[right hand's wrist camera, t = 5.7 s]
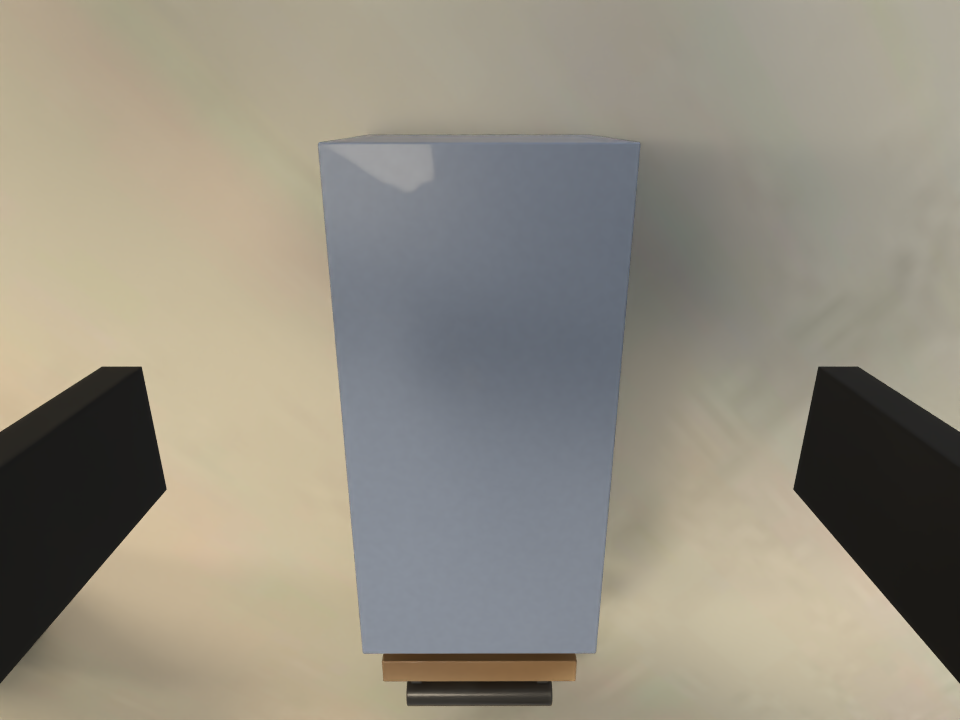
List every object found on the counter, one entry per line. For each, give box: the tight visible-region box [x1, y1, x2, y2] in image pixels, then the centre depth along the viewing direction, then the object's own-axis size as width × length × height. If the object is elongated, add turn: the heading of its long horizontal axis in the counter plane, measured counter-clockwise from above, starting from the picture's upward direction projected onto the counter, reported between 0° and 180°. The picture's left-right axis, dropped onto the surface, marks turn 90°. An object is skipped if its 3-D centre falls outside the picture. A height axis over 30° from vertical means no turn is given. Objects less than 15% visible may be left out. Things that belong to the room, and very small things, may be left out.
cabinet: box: [318, 135, 640, 654], centre depth 27 cm, size 20×10×9 cm, turn 0°
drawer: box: [382, 653, 577, 706], centre depth 29 cm, size 25×9×7 cm, turn 0°
